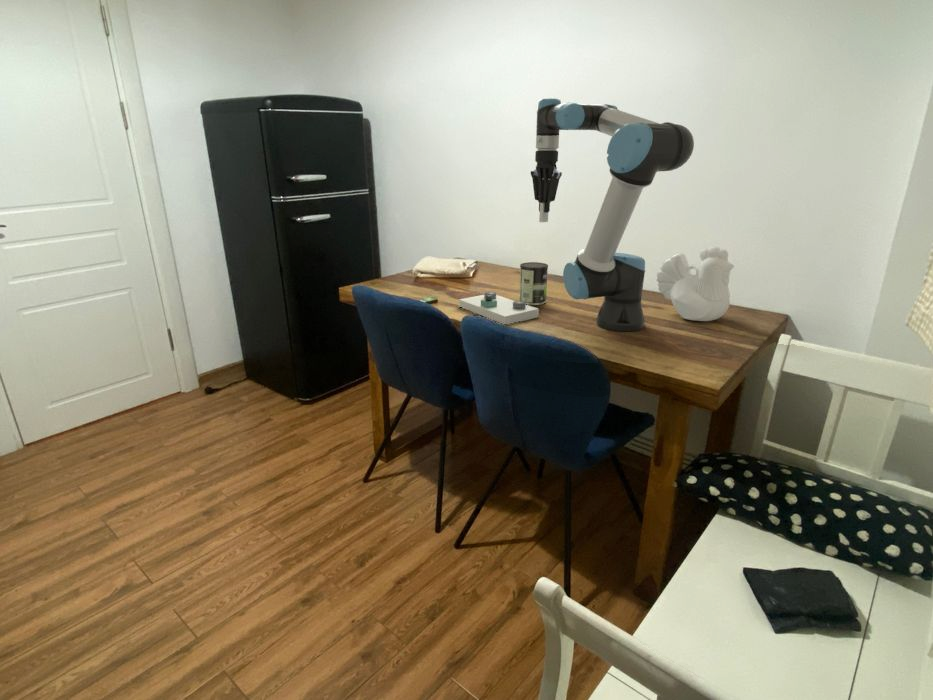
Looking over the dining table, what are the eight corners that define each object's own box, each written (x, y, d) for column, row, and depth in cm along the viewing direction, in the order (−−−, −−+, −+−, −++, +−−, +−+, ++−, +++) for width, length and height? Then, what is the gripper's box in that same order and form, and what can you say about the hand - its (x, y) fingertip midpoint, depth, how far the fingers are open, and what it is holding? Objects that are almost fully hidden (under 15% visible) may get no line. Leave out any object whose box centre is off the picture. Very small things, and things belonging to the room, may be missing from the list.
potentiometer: (496, 306, 189) (497, 296, 188) (487, 308, 187) (487, 297, 186) (489, 303, 192) (489, 293, 191) (480, 305, 190) (480, 295, 189)
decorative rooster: (736, 321, 182) (749, 247, 173) (706, 329, 174) (718, 252, 166) (674, 304, 202) (684, 236, 193) (645, 310, 194) (653, 240, 186)
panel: (538, 317, 187) (538, 308, 186) (504, 325, 179) (505, 316, 178) (491, 300, 207) (491, 293, 206) (459, 307, 199) (459, 299, 197)
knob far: (498, 305, 200) (498, 293, 198) (489, 307, 198) (489, 295, 196) (491, 303, 203) (491, 291, 202) (481, 305, 201) (481, 292, 199)
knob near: (527, 316, 188) (528, 303, 186) (518, 318, 186) (518, 305, 184) (519, 313, 191) (519, 300, 190) (509, 315, 189) (510, 302, 187)
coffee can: (547, 298, 210) (548, 262, 205) (545, 306, 200) (547, 268, 195) (520, 297, 212) (521, 261, 207) (517, 304, 202) (518, 267, 197)
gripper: (525, 149, 184) (523, 220, 192) (552, 149, 174) (548, 224, 183) (541, 149, 188) (538, 219, 197) (569, 149, 178) (564, 223, 187)
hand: (543, 221), depth 190 cm, fingers closed
